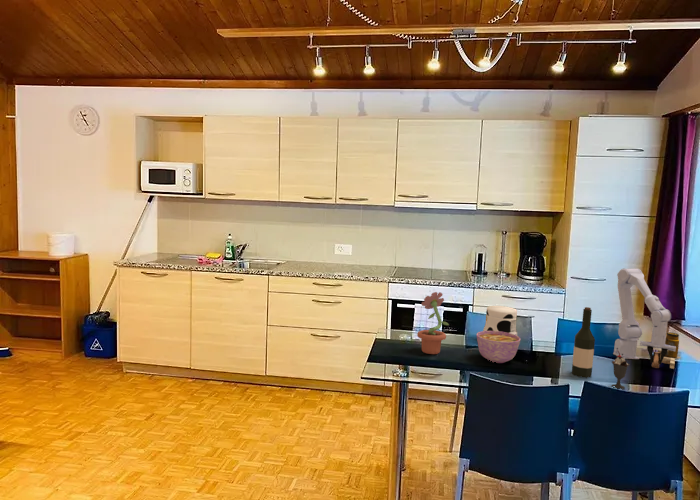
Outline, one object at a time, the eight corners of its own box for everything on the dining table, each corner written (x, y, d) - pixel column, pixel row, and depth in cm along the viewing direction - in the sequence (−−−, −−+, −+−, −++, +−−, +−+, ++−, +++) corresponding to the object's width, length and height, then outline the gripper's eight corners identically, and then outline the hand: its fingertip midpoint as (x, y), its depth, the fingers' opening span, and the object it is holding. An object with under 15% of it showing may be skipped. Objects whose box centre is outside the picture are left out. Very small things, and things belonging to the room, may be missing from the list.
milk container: (480, 336, 292) (483, 304, 290) (513, 339, 290) (516, 306, 288) (484, 345, 275) (486, 311, 273) (518, 348, 273) (521, 313, 271)
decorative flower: (438, 347, 268) (442, 288, 264) (452, 355, 255) (456, 293, 251) (411, 348, 263) (415, 288, 260) (424, 357, 250) (427, 294, 247)
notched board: (673, 368, 250) (674, 363, 250) (654, 365, 254) (654, 360, 254) (674, 363, 259) (674, 358, 258) (655, 360, 263) (655, 355, 262)
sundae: (610, 382, 227) (614, 348, 225) (628, 386, 223) (631, 351, 221) (607, 387, 221) (611, 351, 219) (625, 391, 217) (629, 355, 216)
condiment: (680, 357, 269) (683, 334, 268) (672, 360, 265) (675, 336, 263) (665, 353, 275) (668, 331, 274) (657, 355, 271) (659, 332, 269)
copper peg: (654, 368, 250) (655, 353, 249) (650, 366, 253) (651, 351, 252) (660, 368, 250) (662, 353, 249) (656, 366, 253) (658, 351, 252)
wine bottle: (567, 371, 239) (573, 305, 236) (585, 371, 240) (591, 305, 237) (577, 377, 231) (583, 309, 228) (595, 378, 232) (602, 310, 229)
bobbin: (657, 361, 261) (659, 349, 260) (650, 357, 267) (651, 345, 266) (669, 361, 261) (671, 349, 261) (662, 357, 267) (663, 346, 267)
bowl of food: (521, 358, 255) (523, 334, 254) (515, 370, 237) (517, 344, 236) (479, 351, 264) (481, 328, 263) (470, 362, 246) (472, 337, 244)
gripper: (640, 333, 250) (637, 362, 252) (676, 339, 243) (673, 368, 244) (641, 330, 256) (638, 358, 258) (677, 336, 249) (673, 364, 250)
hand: (655, 363), depth 251 cm, fingers closed on copper peg, 3 cm apart
